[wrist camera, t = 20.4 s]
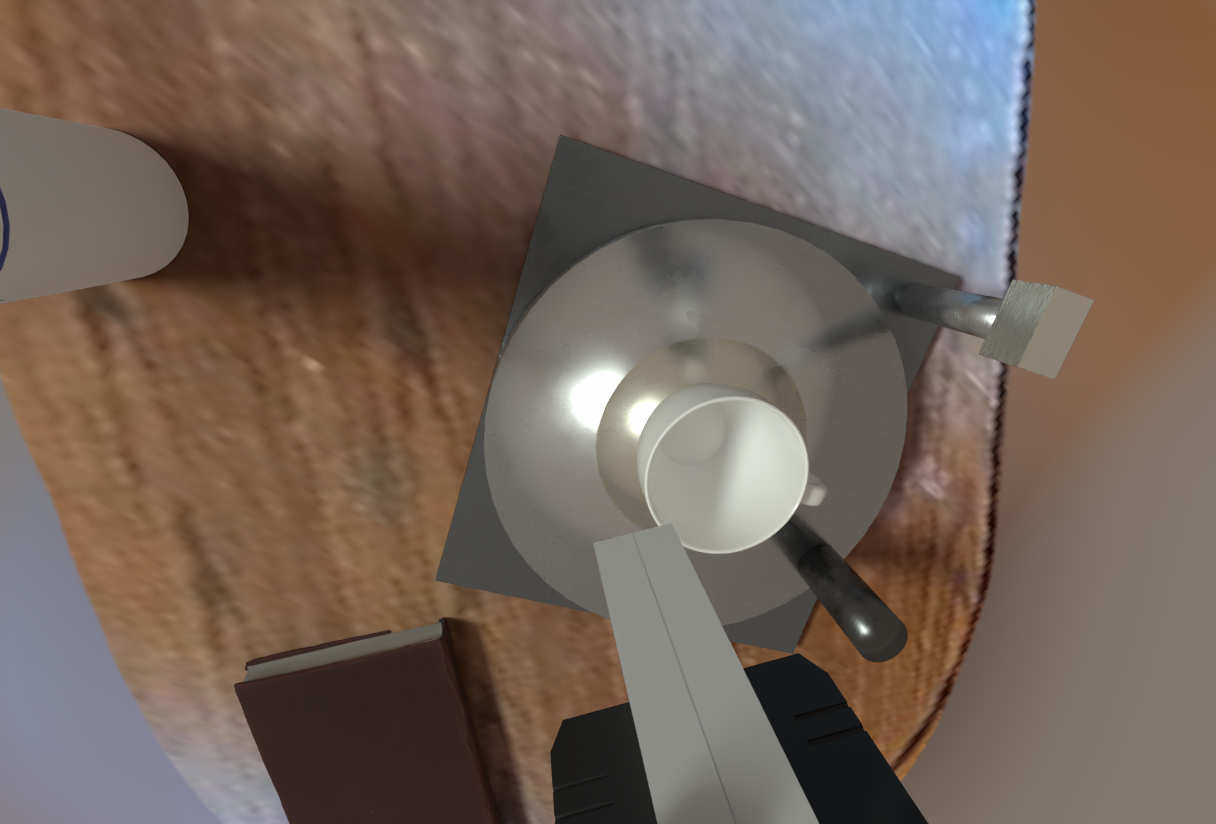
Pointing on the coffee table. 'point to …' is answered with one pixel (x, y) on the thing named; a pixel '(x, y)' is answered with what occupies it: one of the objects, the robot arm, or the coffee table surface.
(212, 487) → the coffee table surface
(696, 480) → the cup
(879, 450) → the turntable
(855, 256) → the base
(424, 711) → the book
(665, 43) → the coffee table surface
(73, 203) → the cylindrical container
